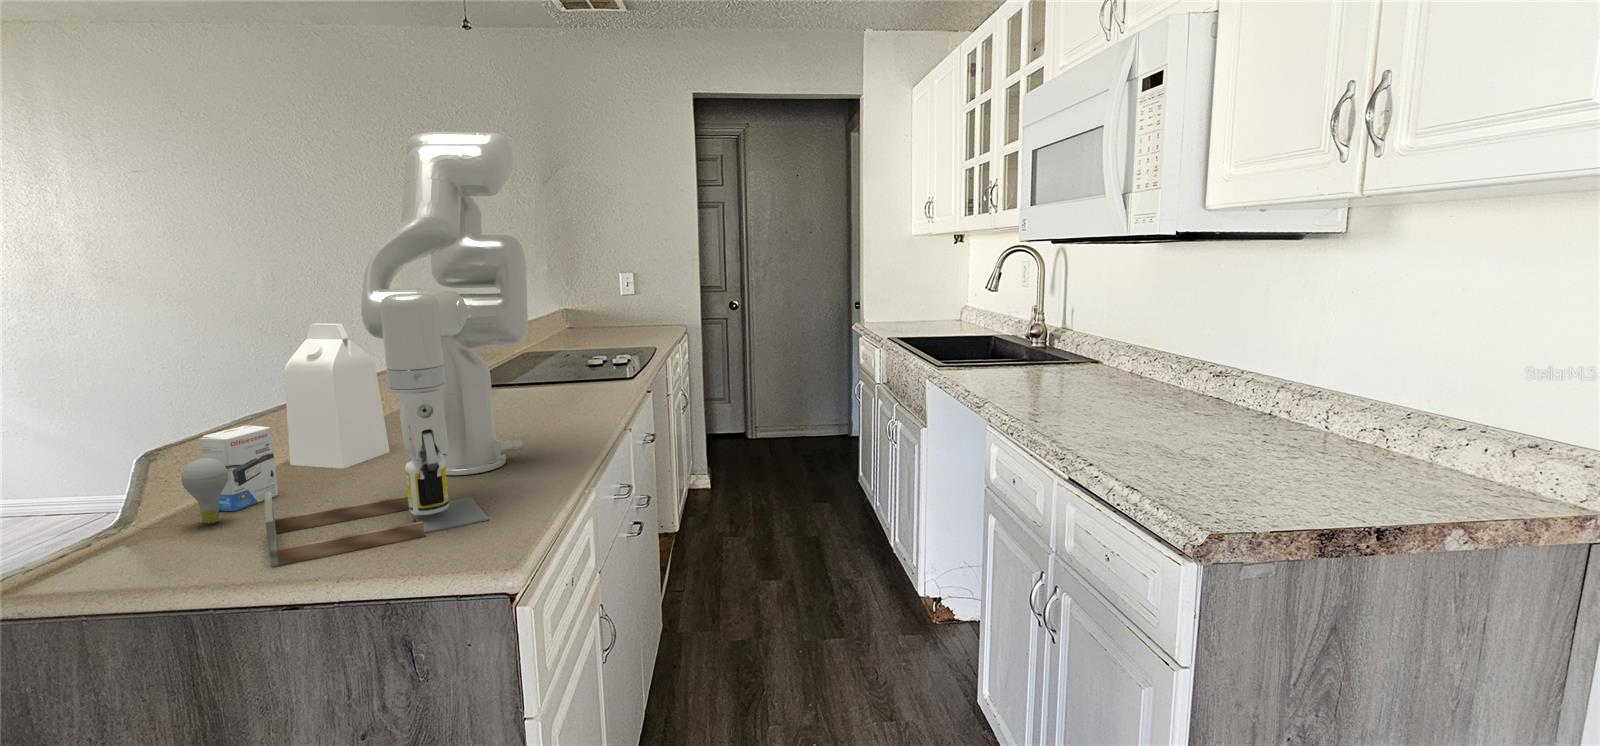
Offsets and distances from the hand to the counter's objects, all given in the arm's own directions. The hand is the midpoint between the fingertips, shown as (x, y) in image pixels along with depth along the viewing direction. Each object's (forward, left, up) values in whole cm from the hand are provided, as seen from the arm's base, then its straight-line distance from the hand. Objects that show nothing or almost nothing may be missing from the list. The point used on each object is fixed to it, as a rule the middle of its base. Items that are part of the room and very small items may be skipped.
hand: (428, 497), depth 117 cm
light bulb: (+27, -17, -4) cm, 32 cm away
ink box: (+23, -26, -4) cm, 35 cm away
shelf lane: (+11, 0, -3) cm, 11 cm away
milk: (+8, -47, -4) cm, 48 cm away
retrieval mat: (-2, 0, -3) cm, 4 cm away
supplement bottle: (0, 0, -2) cm, 2 cm away
